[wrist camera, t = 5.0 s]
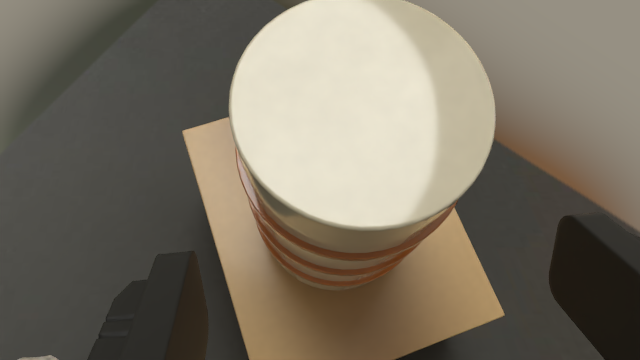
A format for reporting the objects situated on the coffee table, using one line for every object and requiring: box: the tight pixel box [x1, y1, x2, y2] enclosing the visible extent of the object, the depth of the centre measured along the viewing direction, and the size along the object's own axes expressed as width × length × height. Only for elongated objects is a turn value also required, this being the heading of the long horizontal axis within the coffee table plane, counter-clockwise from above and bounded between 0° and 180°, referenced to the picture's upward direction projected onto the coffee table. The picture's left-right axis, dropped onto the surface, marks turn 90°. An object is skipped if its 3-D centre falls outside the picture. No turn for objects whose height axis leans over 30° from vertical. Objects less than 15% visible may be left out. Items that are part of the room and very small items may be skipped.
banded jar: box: [228, 0, 496, 290], centre depth 15 cm, size 6×6×10 cm
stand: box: [182, 117, 505, 360], centre depth 24 cm, size 10×12×8 cm
